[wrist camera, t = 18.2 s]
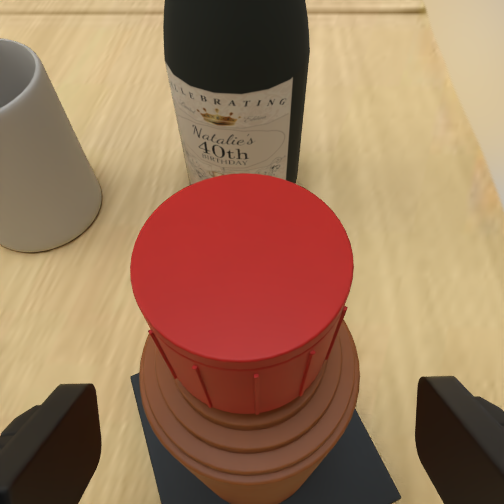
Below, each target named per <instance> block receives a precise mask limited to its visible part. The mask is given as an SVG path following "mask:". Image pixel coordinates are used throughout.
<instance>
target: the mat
mask: <svg viewBox="0 0 504 504" xmlns="http://www.w3.org/2000/svg"><path fill="white" fill-rule="evenodd" d="M139 374H140V373H138V374H135V375H133V376H131V382H132V386H133V390H134V394H135V398H136V402H137V406H138V410H139V414H140V418H141V422H142V426H143V430H144V435H145V439H146V443H147V447H148V451H149V455H150V459H151V463H152V467H153V471H154V475H155V479H156V483H157V487H158V491H159V495H160V499H161V503H162V504H231V503H228V502H227V501H225V500H223V499H222V498H220V497H219V496H218V495H217V494H215V493H214V492H213V491H212V490H211V489H210V488H209V487H207V486H206V485H205V484H204V483H203V482H202V481H201V480H199V479H198V478H197V477H196V476H195V475H194V474H193V473H191V472H190V471H189V470H188V469H187V468H186V467H185V466H183V465H182V464H181V463H180V462H179V461H178V460H177V459H175V458H174V457H173V456H172V455H171V454H170V452H169V451H168V450H167V449H166V448H165V447H164V446H163V445H162V443H161V442H160V440H159V439H158V438H157V436H156V435H155V433H154V431H153V429H152V427H151V425H150V423H149V421H148V419H147V417H146V414H145V410H144V407H143V404H142V399H141V393H140V380H139ZM399 499H401V496H400V494H399V492H398V490H397V488H396V486H395V484H394V482H393V480H392V478H391V476H390V475H389V473H388V471H387V469H386V467H385V465H384V463H383V461H382V459H381V457H380V455H379V453H378V452H377V450H376V448H375V446H374V444H373V442H372V440H371V438H370V436H369V434H368V432H367V430H366V429H365V427H364V425H363V423H362V421H361V419H360V417H359V415H358V413H357V411H356V409H354V412H353V415H352V418H351V420H350V422H349V424H348V426H347V428H346V430H345V432H344V434H343V435H342V436H341V438H340V439H339V440H338V442H337V443H336V445H335V446H334V447H333V448H332V450H331V451H330V452H329V453H328V454H327V456H326V457H325V458H324V459H323V460H322V462H321V463H320V464H319V465H318V466H317V468H316V469H315V470H314V471H313V472H312V474H311V475H310V476H309V477H308V478H307V480H306V481H305V482H304V483H303V484H302V485H301V487H300V488H299V489H298V490H297V491H296V492H295V493H294V494H293V495H291V496H290V497H289V498H288V499H286V500H284V501H283V502H281V503H279V504H391V503H393V502H395V501H397V500H399Z"/></svg>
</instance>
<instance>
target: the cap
mask: <svg viewBox="0 0 504 504" xmlns="http://www.w3.org/2000/svg"><path fill="white" fill-rule="evenodd" d="M353 269H354V265H353V253H352V249H351V244H350V241H349V239H348V236H347V233H346V231H345V229H344V227H343V225H342V224H341V222H340V220H339V219H338V218H337V216H336V215H335V214H334V212H333V211H332V210H331V209H330V208H329V207H328V206H327V205H326V204H325V203H324V202H323V201H322V200H321V199H319V198H318V197H317V196H316V195H314V194H313V193H311V192H310V191H308V190H306V189H305V188H303V187H301V186H299V185H297V184H295V183H292V182H290V181H287V180H284V179H281V178H277V177H273V176H269V175H261V174H249V173H240V174H228V175H221V176H216V177H212V178H208V179H205V180H202V181H199V182H197V183H194V184H192V185H190V186H188V187H186V188H183V189H182V190H180V191H179V192H177V193H175V194H174V195H172V196H171V197H170V198H168V199H167V200H166V201H164V202H163V203H162V204H161V205H160V206H159V207H158V208H157V209H156V210H155V211H154V212H153V213H152V215H151V216H150V217H149V218H148V220H147V221H146V222H145V224H144V226H143V227H142V229H141V231H140V233H139V235H138V237H137V240H136V242H135V245H134V249H133V252H132V257H131V266H130V274H131V284H132V289H133V293H134V296H135V299H136V302H137V304H138V306H139V308H140V310H141V312H142V314H143V315H144V317H145V319H146V321H147V323H148V325H149V327H150V330H149V331H148V332H149V334H150V336H151V337H152V339H153V341H154V343H155V345H156V346H157V348H158V350H159V352H160V354H161V355H162V357H163V359H164V361H165V363H166V364H167V366H168V368H169V370H170V371H171V373H172V375H173V377H174V378H175V379H177V378H178V380H179V381H180V382H181V384H182V385H183V386H184V387H185V388H186V389H187V390H188V391H189V392H190V393H191V394H192V395H193V396H194V397H196V398H197V399H199V400H200V401H201V402H203V403H205V404H207V406H208V407H209V408H212V407H213V408H216V409H219V410H221V411H226V412H230V413H237V414H255V413H256V415H258V414H259V413H262V412H267V411H270V410H273V409H276V408H279V407H281V406H283V405H285V404H287V403H289V402H291V401H292V400H294V399H295V398H297V397H298V396H299V395H300V397H301V396H302V395H303V394H304V391H305V390H306V389H307V388H308V387H309V386H310V385H311V383H312V382H313V381H314V380H315V378H316V376H317V375H318V373H319V371H320V370H321V368H322V365H323V363H324V360H325V359H326V360H328V358H329V355H330V352H331V350H332V347H333V344H334V342H335V339H336V337H337V334H338V331H339V329H340V326H341V324H342V321H343V318H344V316H345V313H346V310H347V307H346V306H345V303H346V300H347V297H348V295H349V292H350V288H351V284H352V280H353Z"/></svg>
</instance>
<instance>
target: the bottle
mask: <svg viewBox="0 0 504 504" xmlns="http://www.w3.org/2000/svg"><path fill="white" fill-rule="evenodd" d="M139 380H140V393H141V399H142V404H143V407H144V410H145V414H146V417H147V419H148V421H149V423H150V425H151V427H152V429H153V431H154V433H155V435H156V436H157V438H158V439H159V440H160V442H161V443H162V445H163V446H164V447H165V448H166V449H167V450H168V451H169V452H170V454H171V455H172V456H173V457H174V458H175V459H177V460H178V461H179V462H180V463H181V464H182V465H183V466H185V467H186V468H187V469H188V470H189V471H190V472H191V473H193V474H194V475H195V476H196V477H197V478H198V479H199V480H201V481H202V482H203V483H204V484H205V485H206V486H207V487H209V488H210V489H211V490H212V491H213V492H214V493H215V494H217V495H218V496H219V497H220V498H222V499H223V500H225V501H227V502H228V503H231V504H279V503H281V502H283V501H284V500H286V499H288V498H289V497H290V496H291V495H293V494H294V493H295V492H296V491H297V490H298V489H299V488H300V487H301V485H302V484H303V483H304V482H305V481H306V480H307V478H308V477H309V476H310V475H311V474H312V472H313V471H314V470H315V469H316V468H317V466H318V465H319V464H320V463H321V462H322V460H323V459H324V458H325V457H326V456H327V454H328V453H329V452H330V451H331V450H332V448H333V447H334V446H335V445H336V443H337V442H338V440H339V439H340V438H341V436H342V435H343V434H344V432H345V430H346V428H347V426H348V424H349V422H350V420H351V418H352V415H353V412H354V409H355V406H356V402H357V398H358V393H359V382H360V371H359V360H358V355H357V350H356V346H355V343H354V340H353V338H352V335H351V333H350V331H349V329H348V327H347V325H346V323H345V321H344V320H343V321H342V324H341V326H340V329H339V331H338V334H337V337H336V339H335V342H334V344H333V347H332V350H331V352H330V355H329V358H328V360H326V359H325V360H324V363H323V365H322V368H321V370H320V371H319V373H318V375H317V376H316V378H315V380H314V381H313V382H312V383H311V385H310V386H309V387H308V388H307V389H306V390H305V391H304V394H303V395H302V396H301V397H300V395H299V396H298V397H297V398H295V399H294V400H292V401H291V402H289V403H287V404H285V405H283V406H281V407H279V408H276V409H273V410H270V411H267V412H262V413H259V414H258V415H256V413H255V414H237V413H230V412H226V411H221V410H219V409H216V408H213V407H212V408H209V407H208V406H207V404H205V403H203V402H201V401H200V400H199V399H197V398H196V397H194V396H193V395H192V394H191V393H190V392H189V391H188V390H187V389H186V388H185V387H184V386H183V385H182V384H181V382H180V381H179V380H178V378H177V379H175V378H174V377H173V375H172V373H171V371H170V370H169V368H168V366H167V364H166V363H165V361H164V359H163V357H162V355H161V354H160V352H159V350H158V348H157V346H156V345H155V343H154V341H153V339H152V337H151V336H150V334H149V335H148V337H147V340H146V343H145V346H144V349H143V353H142V358H141V363H140V374H139Z"/></svg>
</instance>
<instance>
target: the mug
mask: <svg viewBox="0 0 504 504" xmlns="http://www.w3.org/2000/svg"><path fill="white" fill-rule="evenodd" d="M101 200H102V194H101V188H100V185H99V182H98V180H97V178H96V176H95V174H94V172H93V170H92V168H91V166H90V164H89V162H88V160H87V158H86V156H85V154H84V152H83V149H82V147H81V145H80V143H79V141H78V139H77V137H76V135H75V132H74V130H73V128H72V126H71V124H70V122H69V120H68V117H67V115H66V113H65V111H64V109H63V107H62V105H61V102H60V100H59V98H58V96H57V94H56V92H55V90H54V87H53V85H52V83H51V81H50V79H49V77H48V75H47V72H46V70H45V68H44V66H43V64H42V62H41V60H40V59H39V57H38V56H37V55H36V53H35V52H34V51H32V50H31V49H30V48H29V47H27V46H25V45H23V44H21V43H19V42H16V41H12V40H8V39H1V38H0V244H1V245H2V246H4V247H6V248H8V249H11V250H15V251H20V252H40V251H46V250H50V249H53V248H56V247H59V246H62V245H64V244H66V243H68V242H70V241H71V240H73V239H75V238H76V237H78V236H79V235H80V234H81V233H83V232H84V231H85V230H86V229H87V228H88V227H89V226H90V224H91V223H92V222H93V221H94V219H95V217H96V216H97V214H98V212H99V209H100V206H101Z"/></svg>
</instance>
